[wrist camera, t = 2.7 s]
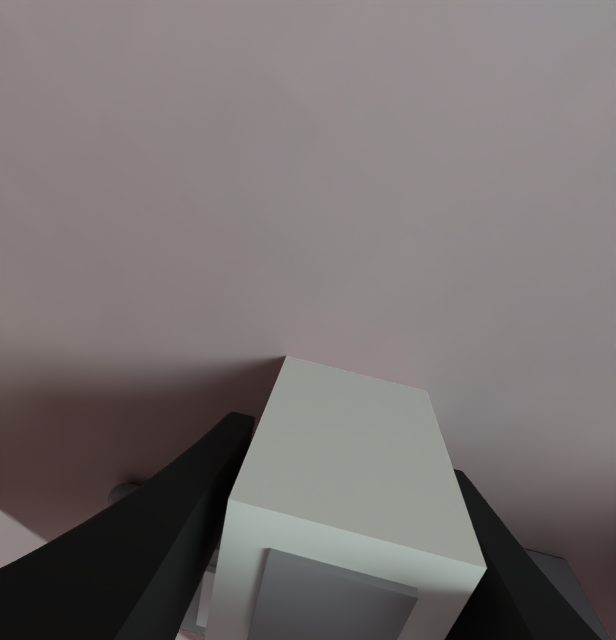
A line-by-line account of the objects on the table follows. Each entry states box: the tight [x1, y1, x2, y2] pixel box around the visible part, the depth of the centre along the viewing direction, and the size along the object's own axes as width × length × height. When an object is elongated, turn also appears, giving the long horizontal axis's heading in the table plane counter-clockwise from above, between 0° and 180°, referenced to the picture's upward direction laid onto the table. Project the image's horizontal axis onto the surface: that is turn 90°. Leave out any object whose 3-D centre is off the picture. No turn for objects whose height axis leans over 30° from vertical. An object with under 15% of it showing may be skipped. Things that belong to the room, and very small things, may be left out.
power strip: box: [108, 483, 610, 640], centre depth 11 cm, size 15×4×3 cm, turn 78°
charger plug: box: [204, 356, 487, 640], centre depth 8 cm, size 4×4×5 cm
